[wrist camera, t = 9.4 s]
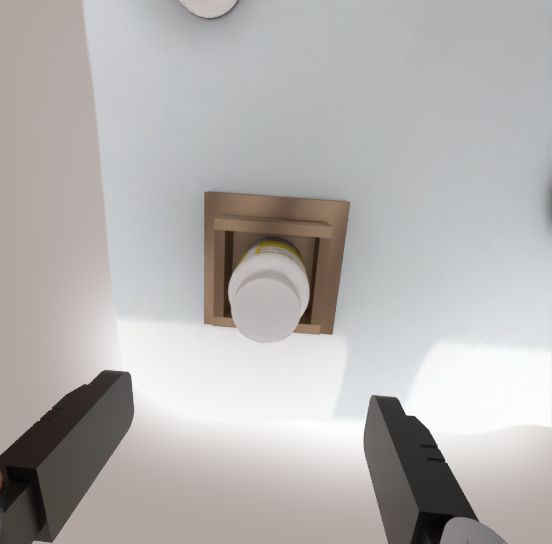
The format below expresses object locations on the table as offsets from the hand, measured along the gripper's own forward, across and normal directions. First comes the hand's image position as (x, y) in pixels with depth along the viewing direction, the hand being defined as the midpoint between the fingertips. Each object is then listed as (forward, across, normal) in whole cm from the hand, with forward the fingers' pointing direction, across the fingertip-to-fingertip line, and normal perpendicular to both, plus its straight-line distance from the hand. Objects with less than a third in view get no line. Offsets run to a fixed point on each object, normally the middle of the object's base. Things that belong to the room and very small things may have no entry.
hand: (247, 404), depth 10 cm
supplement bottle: (+17, 0, 0) cm, 17 cm away
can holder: (+18, 0, 0) cm, 18 cm away
